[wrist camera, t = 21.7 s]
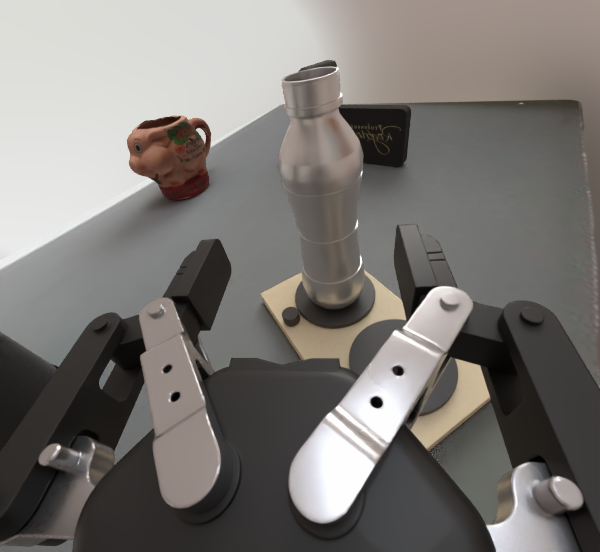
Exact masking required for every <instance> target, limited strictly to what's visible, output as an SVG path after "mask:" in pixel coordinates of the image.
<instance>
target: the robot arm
mask: <svg viewBox="0 0 600 552" xmlns="http://www.w3.org/2000/svg"><path fill="white" fill-rule="evenodd" d="M394 265H395V270H396V275H397V280H398V284H399V289H400V293H401V298H402V302H403V307H404V312H405V316H406V321H407V323H406V324H405V326H404V327H403V328H402V329H400V328H397V329H396V330H395V331H394V332H393V333H392V334H391V336H390V337H389V338H388V340H387V341H386V342H385V344H384V345H383V346H382V347H381V349H380V350H379V351H378V353H377V354H376V355H375V357H374V358H373V359H372V361H371V362H370V363H369V365H368V366H367V367H366V369H365V370H364V371H363V373H362V374H361V375H360V374H358V373H356V372H354V371H353V370H350V369H348V368H345V367H341V366H340V360H339V358H310V359H306V360H302V361H298V362H294V363H289V364H285V365H280V364H276V363H273V362H269V361H265V360H262V359H258V358H231V362H230V365H229V367H226V368H223V369H221V370H219V371H217V372H214V370H213V368H212V366H211V363H210V361H209V359H208V356H207V354H206V352H205V349H204V347H203V344H202V342H201V340H200V338H199V337H198V335H199V332H200V331H205V330H211V327H212V324H213V322H214V319H215V316H216V314H217V311H218V308H219V306H220V303H221V300H222V298H223V295H224V292H225V290H226V287H227V284H228V282H229V279H230V276H231V264H230V261H229V259H228V257H227V255H226V252H225V250H224V248H223V246H222V244H221V242H220V240H219V239H210V240H202V241H201V242H200V243H199V245H198V247H197V249H196V250H195V251H193V252H191V253H190V254H189V255H188V256H187V257H186V258H185V259H184V261H183V263H182V264H181V266H180V269H179V270H178V271H177V273H176V275H175V277H174V278H173V280H172V282H171V284H170V285H169V287H168V289H167V290H166V292H165V294H164V296H163V297H162V298H159V299H156V300H153V301H152V302H150V303H148V304H147V305H146V306H145V307H144V308H143V309H142V311H141V312H140V315H136V316H133V317H130V318H126V319H122V318H121V317H120V316H119V315H118V314H116V313H106V314H103V315H101V316H99V317H97V318H96V319H94V320H93V321H92V322H91V323H90V324H89V325H88V326H87V327H86V328H85V330H84V331H83V333H82V334H81V336H80V337H79V339H78V340H77V342H76V343H75V344H74V346H73V347H72V349H71V350H70V352H69V353H68V355H67V356H66V358H65V359H64V360H63V362H62V363H61V365H60V366H59V367H57V366H55V365H52V364H50V363H49V362H47V361H45V360H44V359H42V358H41V357H39V356H37V355H36V354H34V353H33V352H31V351H30V350H28V349H26V348H25V347H23V346H22V345H20V344H19V343H17V342H15V341H14V340H12V339H11V338H9V337H8V336H6V335H4V334H3V333H1V332H0V545H6V546H27V547H31V546H35V545H44V546H57V545H60V544H62V543H64V542H65V541H67V540H74V542H73V551H72V552H600V389H599V387H598V385H597V384H596V382H595V380H594V379H593V377H592V375H591V374H590V372H589V370H588V369H587V367H586V365H585V364H584V362H583V360H582V359H581V357H580V355H579V354H578V352H577V350H576V349H575V347H574V345H573V344H572V342H571V340H570V339H569V337H568V335H567V334H566V332H565V330H564V329H563V327H562V325H561V324H560V322H559V320H558V319H557V317H556V316H555V315H554V314H553V313H552V312H551V311H550V310H549V309H547V308H545V307H544V306H542V305H539V304H537V303H534V302H530V301H522V300H521V301H513V302H510V303H509V304H507V305H506V306H505V308H504V309H502V308H497V307H492V306H487V305H483V304H479V303H476V302H474V301H472V299H471V298H470V297H469V295H468V294H466V293H465V292H464V291H462V290H460V289H458V287H457V285H456V282H455V280H454V278H453V275H452V273H451V270H450V268H449V266H448V263H447V261H446V258H445V256H444V254H443V251H442V249H441V246H440V244H439V242H438V241H437V240H435V239H434V238H433V237H432V236H431V235H420V232H419V229H418V226H417V224H406V225H397V228H396V238H395V249H394ZM451 358H455V359H458V360H462V361H466V362H469V363H473V364H476V365H480V367H481V370H482V373H483V377H484V380H485V383H486V386H487V389H488V392H489V395H490V399H491V402H492V405H493V408H494V411H495V414H496V417H497V421H498V424H499V427H500V430H501V433H502V436H503V439H504V443H505V446H506V449H507V452H508V455H509V458H510V461H511V465H512V468H513V470H511V471H509V472H508V473H506V474H505V475H503V476H502V477H501V478H500V480H499V482H498V485H497V498H498V513H497V516H496V518H495V520H494V521H493V523H492V524H490V525H488V524H485V522H484V520H483V519H482V517H481V515H480V514H479V512H478V511H477V509H476V508H475V506H474V505H473V504H472V502H471V501H470V500H469V499H468V498H467V496H466V495H465V494H464V493H463V492H462V490H461V489H460V488H459V487H458V486H457V485H456V483H455V482H454V481H453V480H452V479H451V477H450V476H449V475H448V474H447V473H446V471H445V470H444V469H443V468H442V467H441V466H440V464H439V463H438V462H437V461H436V460H435V458H434V457H433V456H432V455H431V454H430V453H429V451H428V450H427V449H426V448H425V447H424V445H423V444H422V443H421V442H420V441H419V440H418V438H417V437H416V436H415V435H414V434H413V432H412V431H411V429H412V427H413V426H414V424H415V422H416V420H417V419H418V417H419V415H420V413H421V412H422V410H423V408H424V406H425V404H426V402H427V400H428V398H429V396H430V394H431V392H432V391H433V389H434V387H435V385H436V384H437V382H438V380H439V378H440V377H441V375H442V373H443V372H444V370H445V368H446V366H447V365H448V363H449V361H450V359H451ZM110 359H111V360H112V361H113V362H114V363H116V365H115V367H114V368H113V370H112V372H111V374H110V376H109V378H108V380H107V381H106V383H105V385H104V387H103V389H102V390H101V389H100V387H99V379H100V377H101V375H102V373H103V371H104V369H105V368H106V366H107V364H108V362H109V361H110ZM144 382H145V386H146V391H147V396H148V401H149V406H150V411H151V416H152V421H153V426H154V428H153V429H152V430H151V431H150V432H149V433H148V434H147V435H146V436H145V437H144V438H143V439H142V440H141V441H140V442H139V443H138V444H136V445H135V446H134V447H133V448H132V449H131V450H130V451H129V452H128V453H127V454H126V455H125V456H124V457H123V458H122V459H121V460H120V461H119V462H118V463H117V464H116V465H114V461H115V454H114V450H115V448H116V446H117V444H118V441H119V439H120V437H121V434H122V432H123V430H124V428H125V425H126V423H127V421H128V418H129V416H130V414H131V412H132V409H133V407H134V405H135V402H136V400H137V398H138V396H139V393H140V391H141V389H142V386H143V384H144Z"/></svg>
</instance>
